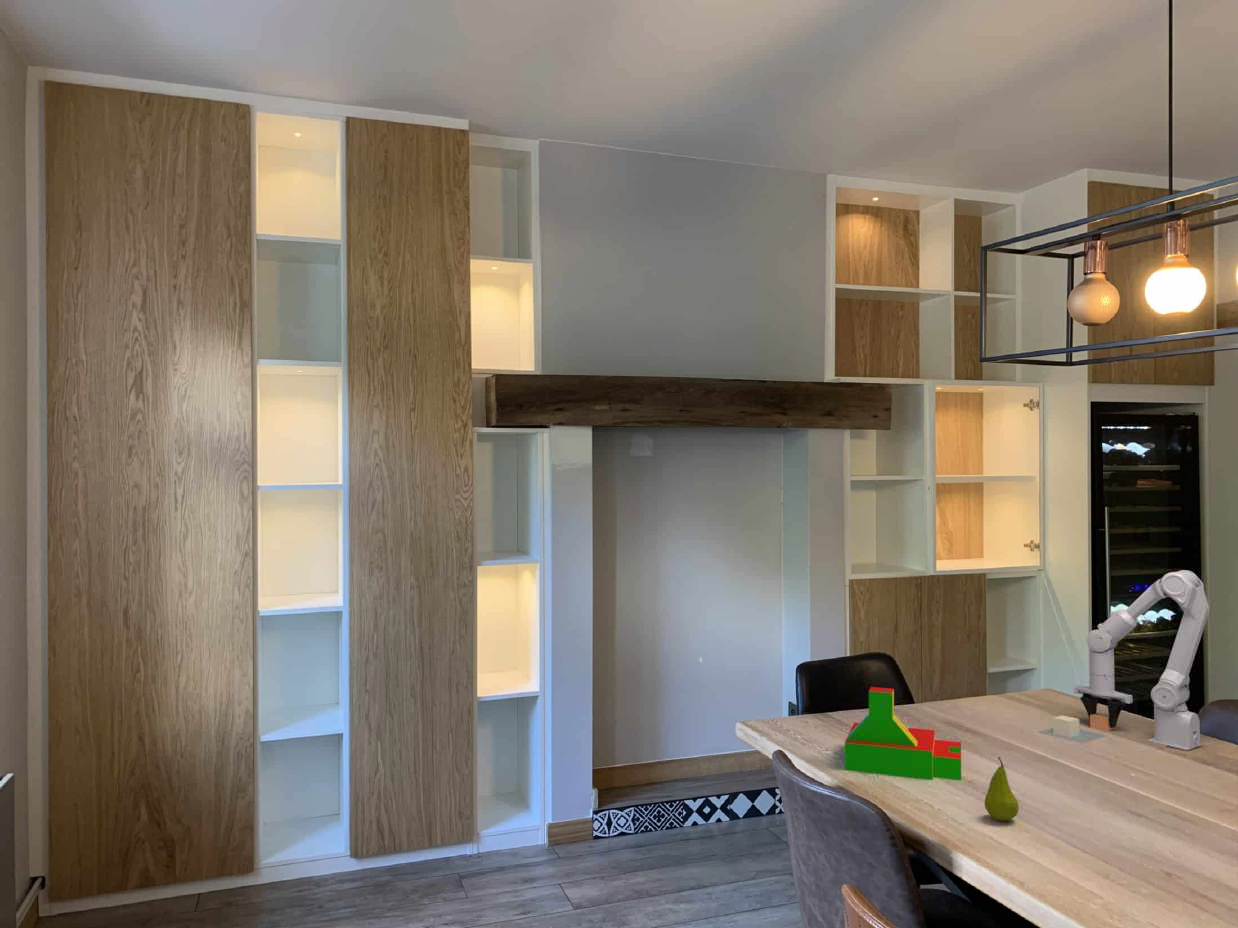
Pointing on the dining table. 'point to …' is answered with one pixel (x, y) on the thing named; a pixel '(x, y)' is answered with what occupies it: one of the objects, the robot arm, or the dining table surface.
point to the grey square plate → (1081, 737)
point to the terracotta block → (1100, 722)
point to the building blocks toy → (898, 745)
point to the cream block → (1066, 726)
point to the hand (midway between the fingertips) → (1102, 725)
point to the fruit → (1001, 797)
